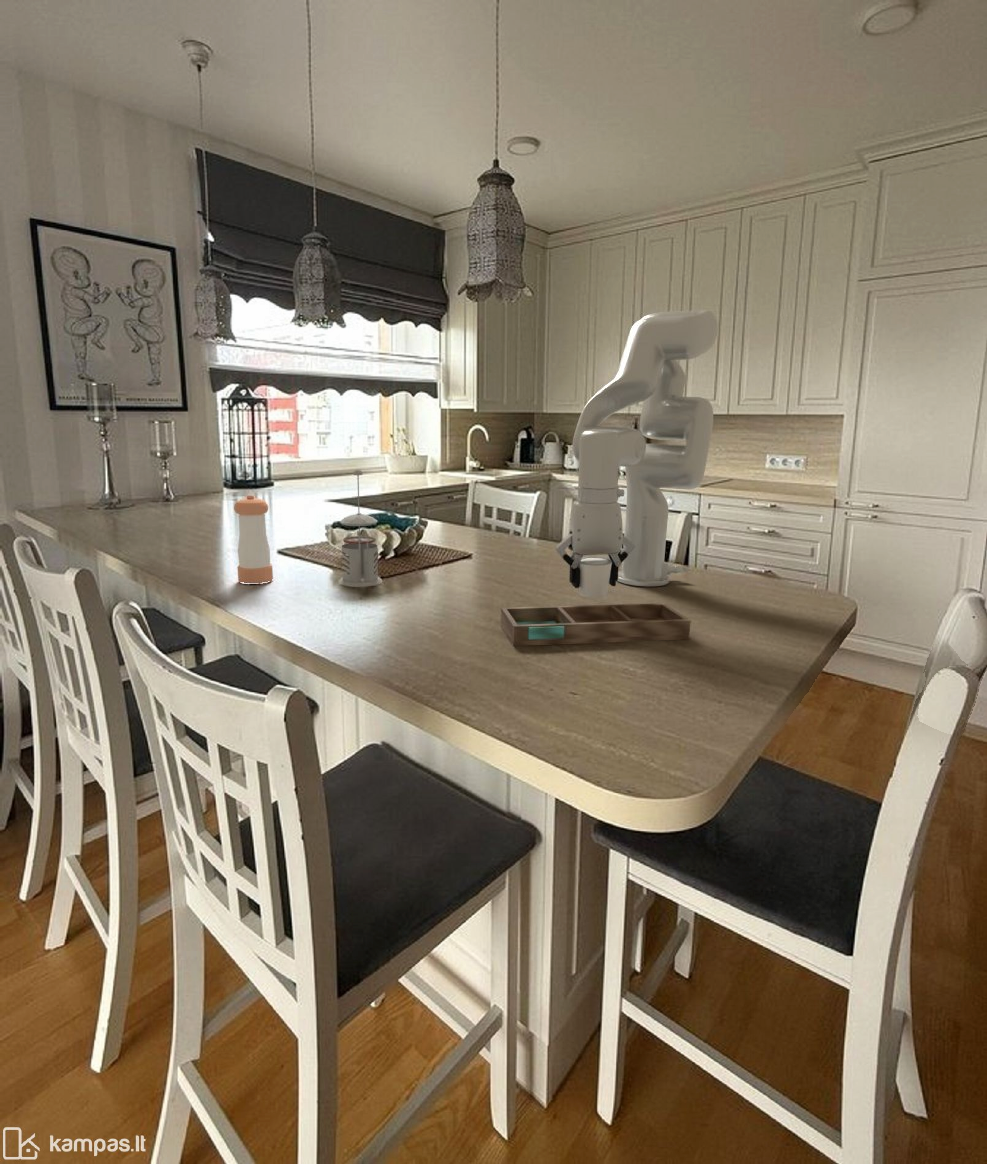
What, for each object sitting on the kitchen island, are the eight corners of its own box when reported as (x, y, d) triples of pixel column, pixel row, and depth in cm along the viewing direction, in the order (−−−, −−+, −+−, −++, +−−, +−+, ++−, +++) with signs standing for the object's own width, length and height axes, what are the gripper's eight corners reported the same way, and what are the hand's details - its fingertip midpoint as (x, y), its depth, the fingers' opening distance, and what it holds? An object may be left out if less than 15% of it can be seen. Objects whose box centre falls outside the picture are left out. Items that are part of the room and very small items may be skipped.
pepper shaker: (277, 582, 149) (272, 496, 144) (243, 586, 145) (237, 497, 140) (267, 575, 154) (262, 492, 150) (234, 579, 150) (228, 493, 146)
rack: (662, 620, 128) (664, 603, 127) (690, 640, 117) (692, 621, 116) (500, 625, 122) (501, 607, 121) (513, 646, 111) (514, 627, 111)
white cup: (613, 591, 136) (614, 557, 134) (607, 601, 130) (608, 566, 128) (579, 588, 138) (581, 555, 136) (572, 597, 132) (573, 563, 130)
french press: (378, 575, 158) (377, 467, 151) (387, 587, 147) (385, 472, 141) (336, 577, 154) (332, 467, 148) (341, 590, 144) (337, 472, 138)
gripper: (633, 492, 134) (627, 578, 139) (548, 494, 131) (546, 582, 136) (647, 498, 127) (641, 588, 132) (558, 500, 124) (556, 593, 129)
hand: (593, 584), depth 134 cm, fingers closed on white cup, 6 cm apart
